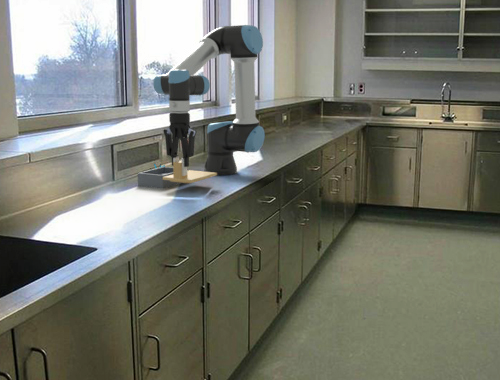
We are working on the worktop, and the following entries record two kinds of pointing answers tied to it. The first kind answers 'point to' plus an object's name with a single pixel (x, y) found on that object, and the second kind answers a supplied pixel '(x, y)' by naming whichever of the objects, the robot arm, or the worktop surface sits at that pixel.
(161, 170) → the tub
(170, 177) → the lid
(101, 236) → the worktop surface
